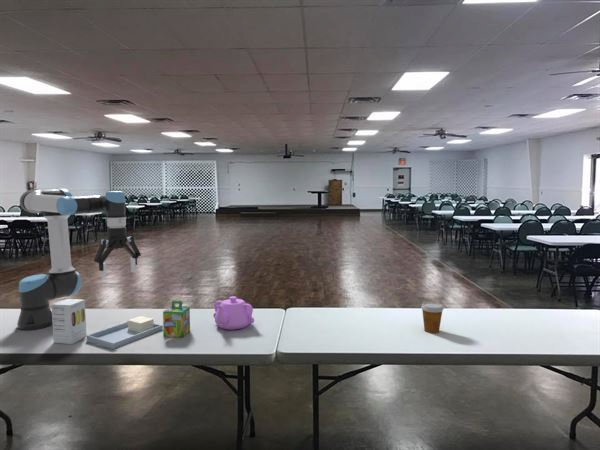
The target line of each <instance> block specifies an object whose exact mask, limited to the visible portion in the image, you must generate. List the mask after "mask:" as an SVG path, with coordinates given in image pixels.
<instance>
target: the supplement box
mask: <svg viewBox="0 0 600 450" xmlns="http://www.w3.org/2000/svg"><path fill="white" fill-rule="evenodd" d="M50 306H51V307H50V308H51V311H52V323H53V324H52V335H53V339H52V340H53V343H55V344H67V345H73V344H75V343H77V342H79V341H81V340H83V339H84V338H85V337H86V335H88V334H87V319H86V317H87V316H86V300H85V299H80V298H79V299H76V298H66V299H64V300H63V299H62V300H61V301H57V302H55V303H51V305H50Z"/></svg>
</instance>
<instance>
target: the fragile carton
mask: <svg viewBox="0 0 600 450" xmlns="http://www.w3.org/2000/svg"><path fill="white" fill-rule="evenodd" d="M127 322H128V330H131V331H135V332H139V333H141V332H144V331H147V330H150V329H152V328H154V323H155V322H154V318H152V317H146V316H142V315H139V316H136V317H134V318H130V319H127Z"/></svg>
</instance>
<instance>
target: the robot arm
mask: <svg viewBox="0 0 600 450" xmlns="http://www.w3.org/2000/svg"><path fill="white" fill-rule="evenodd" d="M19 205H20V207H21V208H22V209H23V211H26V212H27V213H30V214H42V215H43V218H44V219H46V220H47V229H48V230H47V231H48V240H49V241H48V242H49V250H50V252H49V253H50V261H51V268H50V269H49V271H48V275H47V274H44V273H41V274H40V273H39V274H33V275H30V276H26V277H25V278H22V279H21V280H20V281H19V282H18V293H19V294H18V295H19V303H20V304H19V306H20V313H19V317H18V320H17V324H16V326H17V329H18V330H21V331H31V330H39V329H43V328H47V327H50V326H53V323H52V308H51V307H50V301H53V300H56V299H62V298H65V297H67V298H68V297H70V296H74V295H76V294H78V292H79V291H80V290H81V287H82V277H81V274H80V272H78V271H76V268H75V267H73V266H72V258H71V257H72V256H71V245H70V237H69V236H70V234H69V222H68V219H69V218H70V216H72V215H81V214H98V213H104V214H105V213H106V226H107V228H106V230H107V239H100V243H99V246H98V249H97V252H96V254H95V256H94V259H93V262H94V263H97V264H98V271H100V276H101V279H107V267H106V262H105V261H106V260H107V259H108V257H109V256H110V254H111V253H112V252H113V250H114V249H116V250H117V249H124V250H125V251H126V253H127V254H128V255H130V256H131V257H130V272H131V273H133V274H136V272H137V269H136V267H137V265H138V258H139V257H141V256H142V255H141V252H140V250H139V248H138V246H137V243H136V242H135V240H134V237H133V236H130V235H129V236H128V237H127V227H126V225H127V218H126V214H127V213H126V198H125V192H124V191H122V190H120V191H118V190H114V191H113V190H111V191H106V192H105V195H102V194H95V195H83V196H82V195H81V196H78V195H77V196H76V195H74V196H73V193H71V191H70V190H69V189H67V188H32V189H29V190H26V191H25V192H23V194H22V195H20V198H19ZM127 242H128V243H129V245H130V247H131V248H130V247H129V245H128V244H127ZM106 246H107V247H106ZM105 248H106V249H105Z"/></svg>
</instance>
